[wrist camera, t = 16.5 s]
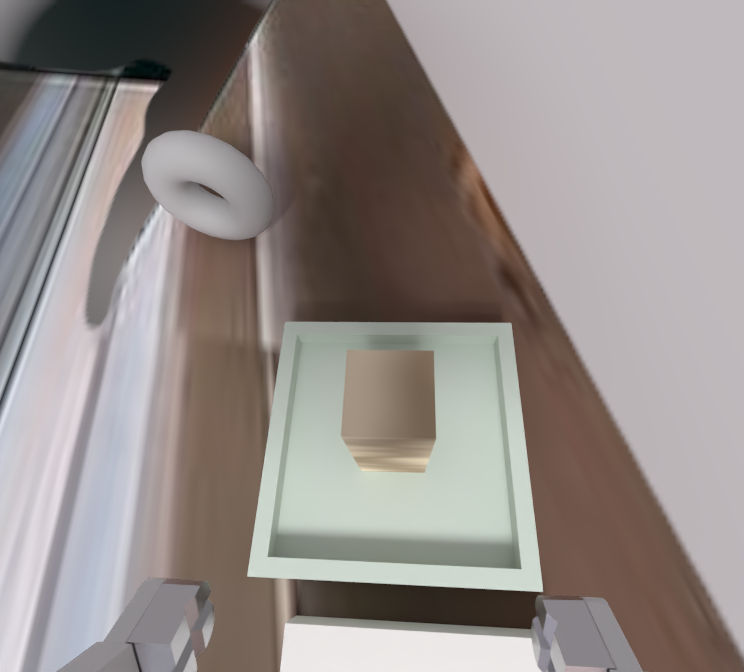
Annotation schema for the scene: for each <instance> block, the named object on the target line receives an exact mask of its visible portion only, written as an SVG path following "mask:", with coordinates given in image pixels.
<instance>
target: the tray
mask: <svg viewBox="0 0 744 672" xmlns="http://www.w3.org/2000/svg"><path fill="white" fill-rule="evenodd" d="M347 350H421V351H434V379H435V415H436V441H435V443H434V446H433V449H432V452H431V455H430V458H429V461H428V464H427V467H426V470H425V473H410V472H378V471H361V470H360V468H359V466H358V465H357V463H356V461H355V459H354V458H353V456H352V454H351V453H350V451H349V449H348V448H347V446H346V444H345V443H344V441H343V439H342V437H341V426H342V412H343V398H344V384H345V370H346V356H347ZM247 576H249V577H268V578H287V579H306V580H325V581H344V582H363V583H382V584H401V585H420V586H439V587H458V588H477V589H496V590H515V591H534V592H543V586H542V577H541V569H540V560H539V552H538V543H537V535H536V527H535V518H534V510H533V501H532V493H531V484H530V476H529V468H528V459H527V451H526V442H525V434H524V426H523V417H522V409H521V400H520V392H519V383H518V375H517V367H516V358H515V350H514V341H513V333H512V324H511V323H427V322H285V324H284V331H283V338H282V345H281V352H280V358H279V365H278V372H277V379H276V385H275V392H274V399H273V406H272V412H271V419H270V426H269V433H268V439H267V446H266V453H265V460H264V467H263V473H262V480H261V487H260V494H259V500H258V507H257V514H256V521H255V527H254V534H253V541H252V548H251V554H250V561H249V568H248V575H247Z"/></svg>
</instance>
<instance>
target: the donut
mask: <svg viewBox="0 0 744 672" xmlns="http://www.w3.org/2000/svg"><path fill="white" fill-rule="evenodd" d="M142 169H143V175H144V180H145V182H146V184H147V186H148V188H149V190H150V191H151V193H152V195H153V196H154V198H155V199H156V200H157V201H158V202H159V203H160V204H161V206H162V207H163V208H164V209H165V210H166V211H168V212H169V213H170V214H172V215H173V216H174V217H175V218H177V219H178V220H179V221H181V222H183V223H184V224H186V225H188V226H190V227H191V228H193V229H195V230H197V231H200V232H202V233H205V234H207V235H209V236H213V237H217V238H221V239H225V240H244V239H248V238H252V237H256V236H257V235H259V234H260V233H261V232H262V231H264V230H265V229H266V228H267V227H268V226H269V224H270V222H271V219H272V216H273V213H274V208H275V206H274V201H273V196H272V191H271V188H270V186H269V184H268V182H267V181H266V179H265V177H264V175H263V174H262V172H261V171H260V170H259V169H258V168H257V167H256V166H255V165H254V164H253V163H252V162H251V161H250V159H249V158H248V157H246V156H245V155H244V154H242V153H241V152H240V151H238V150H237V149H235V148H234V147H233V146H231V145H230V144H228V143H226V142H223V141H221V140H219V139H217V138H215V137H213V136H211V135H206V134H202V133H198V132H194V131H189V130H184V131H169V132H166V133H164V134H162V135H161V136H159V137H156V138H155V139H153V140H152V141H151V142H150V143H149V144H148V146H147V148H146V150H145V153H144V155H143V158H142ZM198 183H200V184H202V185H205V186H207V187H209V188H211V189H213V190H214V191H216V192H217V193H219V194H220V195H221V196H222V197H224V198H225V199H224V198H220V197H218V196H216V195H213V194H211V193H210V192H208V191H206V190H205V189H203V188H202V187H201V186H200V185H199V184H198Z"/></svg>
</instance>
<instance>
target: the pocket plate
mask: <svg viewBox="0 0 744 672" xmlns="http://www.w3.org/2000/svg"><path fill="white" fill-rule="evenodd" d="M280 672H542V671H541V670H540V669H539V668H538V667H537V663H536V659H535V656H534V651H533V646H532V637H531V629H517V628H500V627H483V626H466V625H449V624H432V623H416V622H399V621H382V620H365V619H348V618H331V617H314V616H297V615H296V616H295V617H293V618H292V619H291V620H289V621H288V622H286V623H285V631H284V641H283V650H282V659H281V668H280Z"/></svg>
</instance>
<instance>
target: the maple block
mask: <svg viewBox="0 0 744 672" xmlns="http://www.w3.org/2000/svg"><path fill="white" fill-rule="evenodd" d="M341 437H342V439H343V441H344V443H345V444H346V446H347V448H348V449H349V451H350V453H351V454H352V456H353V458H354V459H355V461H356V463H357V465H358V466H359V468H360V470H361V471H378V472H410V473H425V470H426V467H427V464H428V461H429V458H430V455H431V452H432V449H433V446H434V443H435V441H436V415H435V379H434V351H421V350H347V356H346V370H345V384H344V398H343V412H342V426H341Z"/></svg>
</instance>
